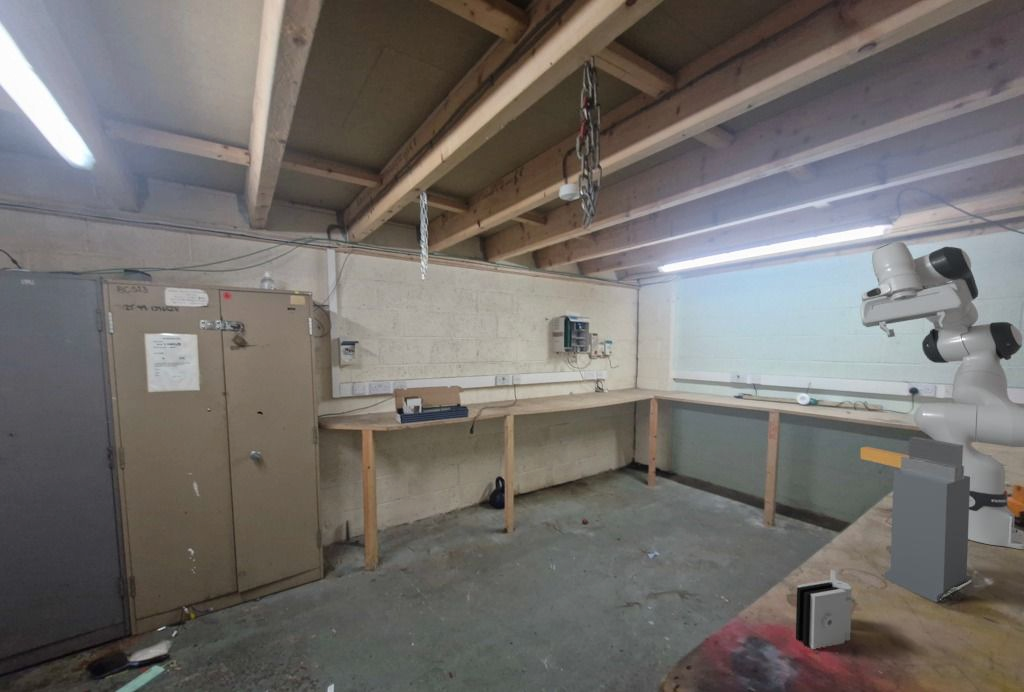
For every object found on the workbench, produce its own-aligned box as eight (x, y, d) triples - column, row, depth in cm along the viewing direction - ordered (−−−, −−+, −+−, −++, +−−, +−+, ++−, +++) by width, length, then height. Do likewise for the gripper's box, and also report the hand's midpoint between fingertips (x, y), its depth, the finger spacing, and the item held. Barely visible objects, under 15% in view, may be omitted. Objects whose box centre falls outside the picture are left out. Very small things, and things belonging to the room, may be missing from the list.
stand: (919, 562, 99) (923, 452, 99) (971, 582, 91) (976, 462, 90) (883, 578, 92) (887, 460, 92) (936, 602, 84) (941, 472, 83)
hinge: (829, 616, 79) (831, 568, 79) (862, 634, 74) (864, 584, 74) (791, 637, 73) (792, 586, 73) (823, 659, 68) (825, 604, 68)
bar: (866, 457, 104) (867, 428, 103) (961, 479, 88) (962, 445, 87) (860, 458, 102) (861, 429, 102) (956, 481, 86) (957, 446, 86)
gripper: (953, 285, 107) (970, 328, 102) (857, 304, 121) (867, 343, 115) (954, 274, 103) (972, 319, 98) (855, 295, 117) (865, 335, 111)
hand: (914, 332), depth 107 cm, fingers open, 8 cm apart
